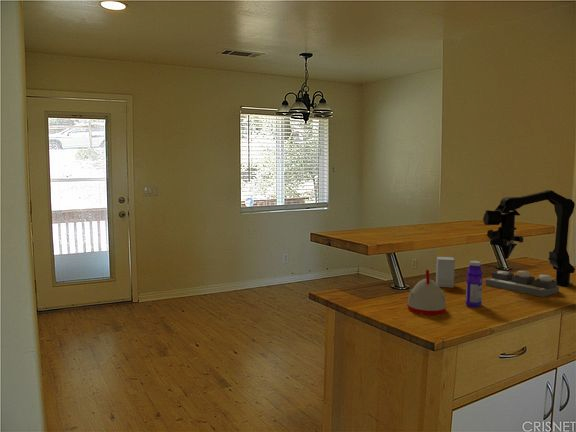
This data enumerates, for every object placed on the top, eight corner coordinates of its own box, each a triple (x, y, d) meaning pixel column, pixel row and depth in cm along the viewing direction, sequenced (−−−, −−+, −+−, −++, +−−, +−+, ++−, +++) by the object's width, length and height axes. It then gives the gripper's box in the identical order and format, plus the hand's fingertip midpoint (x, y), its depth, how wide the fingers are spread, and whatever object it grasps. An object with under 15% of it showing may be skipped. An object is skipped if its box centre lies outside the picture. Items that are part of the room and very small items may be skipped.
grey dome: (444, 305, 191) (445, 267, 189) (447, 316, 178) (448, 275, 176) (407, 303, 194) (408, 266, 192) (407, 313, 181) (408, 273, 179)
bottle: (479, 308, 187) (481, 263, 185) (463, 306, 190) (465, 262, 188) (482, 304, 193) (484, 260, 191) (467, 302, 196) (469, 259, 194)
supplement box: (454, 287, 219) (455, 259, 217) (436, 286, 220) (437, 259, 219) (452, 283, 226) (453, 256, 225) (435, 283, 227) (436, 256, 226)
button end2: (542, 279, 215) (542, 273, 214) (553, 281, 211) (554, 275, 210) (536, 281, 211) (536, 275, 211) (548, 283, 208) (548, 277, 207)
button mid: (520, 275, 222) (520, 270, 222) (531, 277, 218) (531, 272, 218) (515, 277, 219) (515, 271, 219) (526, 279, 215) (526, 273, 215)
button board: (501, 280, 233) (501, 270, 232) (558, 291, 212) (559, 280, 212) (485, 284, 224) (485, 274, 223) (543, 297, 204) (544, 285, 203)
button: (500, 275, 230) (500, 270, 229) (510, 277, 226) (511, 272, 225) (494, 277, 227) (495, 271, 226) (505, 279, 223) (505, 273, 222)
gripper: (501, 222, 235) (500, 254, 236) (480, 225, 223) (478, 258, 225) (524, 224, 226) (523, 257, 228) (503, 227, 215) (501, 262, 216)
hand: (506, 258), depth 224 cm, fingers closed
